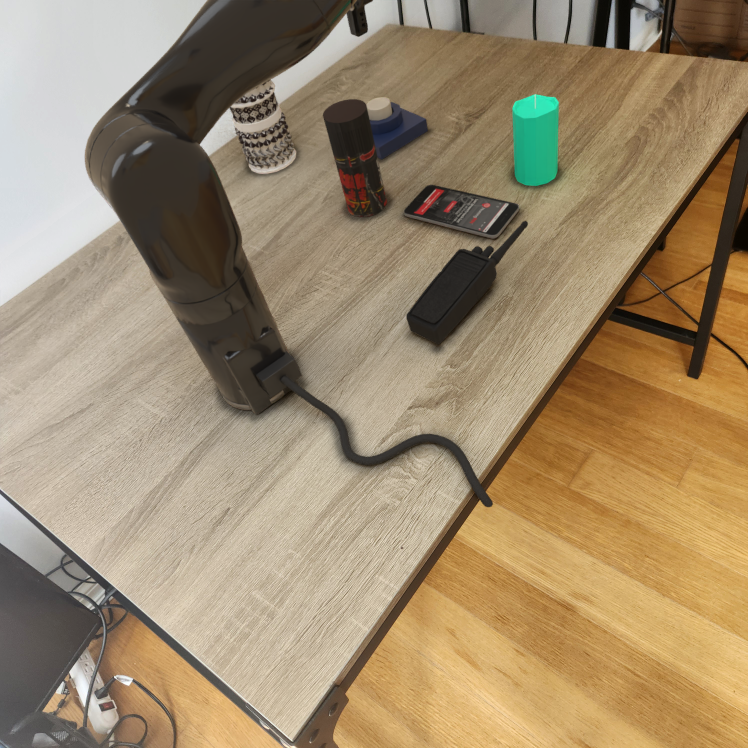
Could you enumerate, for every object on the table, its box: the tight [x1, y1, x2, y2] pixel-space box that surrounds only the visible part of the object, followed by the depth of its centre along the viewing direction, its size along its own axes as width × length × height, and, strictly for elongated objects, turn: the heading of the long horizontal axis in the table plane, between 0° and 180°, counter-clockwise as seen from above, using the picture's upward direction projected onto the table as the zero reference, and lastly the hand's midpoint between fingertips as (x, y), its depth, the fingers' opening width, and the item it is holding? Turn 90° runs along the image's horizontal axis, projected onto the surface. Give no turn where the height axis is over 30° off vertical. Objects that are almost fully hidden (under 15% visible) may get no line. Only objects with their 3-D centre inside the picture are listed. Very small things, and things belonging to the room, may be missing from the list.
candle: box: [511, 93, 560, 187], centre depth 89 cm, size 6×6×12 cm
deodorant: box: [322, 98, 388, 219], centre depth 91 cm, size 6×6×15 cm
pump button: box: [366, 96, 392, 121], centre depth 105 cm, size 4×4×2 cm
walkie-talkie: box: [405, 220, 529, 345], centre depth 78 cm, size 6×6×20 cm
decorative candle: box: [199, 6, 297, 175], centre depth 101 cm, size 9×9×25 cm
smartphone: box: [403, 184, 520, 239], centre depth 91 cm, size 7×1×15 cm
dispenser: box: [370, 101, 429, 160], centre depth 107 cm, size 11×10×4 cm
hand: (359, 33), depth 96 cm, fingers closed
